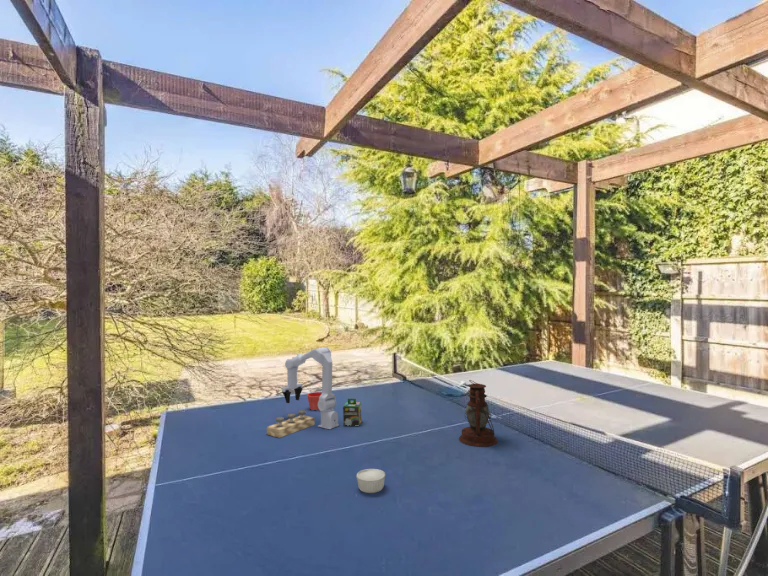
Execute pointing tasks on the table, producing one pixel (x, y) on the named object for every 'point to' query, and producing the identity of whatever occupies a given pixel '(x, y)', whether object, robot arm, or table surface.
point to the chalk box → (352, 413)
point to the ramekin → (370, 480)
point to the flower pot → (314, 400)
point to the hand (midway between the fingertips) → (292, 401)
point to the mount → (290, 426)
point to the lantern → (477, 419)
